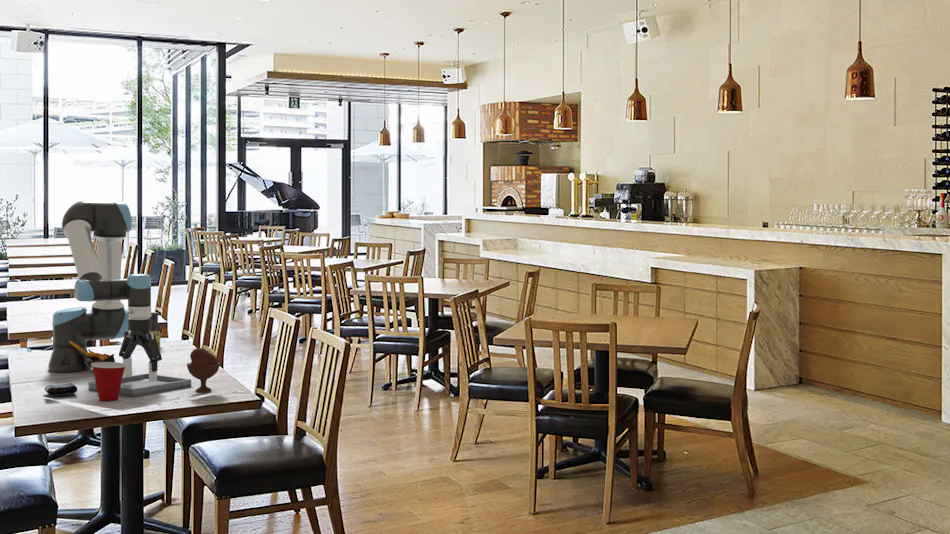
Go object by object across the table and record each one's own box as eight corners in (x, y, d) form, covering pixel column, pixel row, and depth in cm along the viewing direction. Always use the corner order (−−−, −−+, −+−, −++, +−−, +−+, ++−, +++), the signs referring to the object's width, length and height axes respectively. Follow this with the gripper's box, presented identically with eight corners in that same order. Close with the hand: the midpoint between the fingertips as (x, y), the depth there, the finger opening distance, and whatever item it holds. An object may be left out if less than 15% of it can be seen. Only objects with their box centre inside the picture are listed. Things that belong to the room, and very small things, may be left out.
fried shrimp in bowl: (124, 365, 335) (99, 324, 333) (98, 380, 328) (72, 338, 326) (116, 368, 342) (92, 328, 340) (91, 383, 335) (65, 342, 333)
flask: (46, 388, 290) (43, 384, 299) (47, 397, 290) (44, 393, 299) (77, 385, 294) (73, 382, 304) (78, 393, 294) (74, 390, 304)
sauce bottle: (145, 359, 377) (145, 313, 376) (143, 357, 382) (143, 312, 381) (161, 358, 380) (161, 312, 379) (159, 356, 385) (159, 311, 384)
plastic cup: (126, 401, 285) (126, 364, 284) (90, 403, 281) (89, 366, 281) (127, 395, 295) (127, 360, 295) (92, 397, 292) (92, 361, 291)
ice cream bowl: (202, 395, 296) (202, 350, 296) (180, 392, 302) (179, 348, 301) (226, 390, 305) (226, 347, 305) (204, 387, 311) (204, 345, 310)
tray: (88, 389, 305) (88, 382, 305) (147, 380, 326) (147, 373, 326) (132, 397, 293) (132, 389, 292) (191, 386, 313) (191, 379, 313)
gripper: (107, 317, 312) (108, 376, 313) (153, 321, 298) (154, 384, 299) (126, 315, 318) (127, 374, 319) (172, 319, 305) (172, 380, 306)
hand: (140, 379), depth 309 cm, fingers open, 13 cm apart
